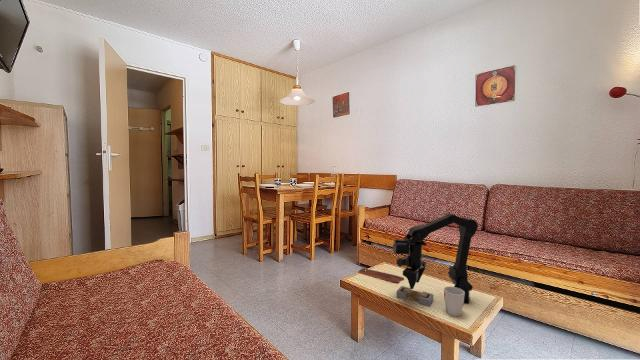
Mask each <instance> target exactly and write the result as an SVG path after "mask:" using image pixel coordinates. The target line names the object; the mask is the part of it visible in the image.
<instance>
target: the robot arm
mask: <svg viewBox="0 0 640 360" xmlns="http://www.w3.org/2000/svg"><path fill="white" fill-rule="evenodd" d="M452 224H454V225H458V232H459V241H458V246H457V250H456V255H455V261H454V264H453V265H449V270H448V272H447V274H448V277H449V279H450V280H451V281H452V283H453V284H454V286H453V287H456V288H459V289H462V290H463V291H464V292H465V295H464V303H465V304H469V303H470V299H471V297H470V292H471V291H472V290H473V288H474V286H473V285H472V284H471V283H470V282H469V278H468V275H469V274H468V271H467V264H468V263H467V262H468V258H469V253H470V247H471V241H472V239H473V237H474V236H475V235H476V232H477V231H478V227H479V223H478V222H477V221H476V220H475V219H472V218H469V217H466V216H464V217H461V216H457V215H455V214H453V213H450V212H449V213H447V214H445V215H444V216H441V217H439V218H436V219H434V220H432V221H430V222H428V223H425V224H420V225H415V226H412V227H410V228H409V229H408V233H407V234H406V235H405V236H404V237H403V239H399V238H395V239H394V242H393V245H392V251H393V254H395V255H396V254H397V255H407V254H408V255H407V256H404V257H399V258H397V259H396V263H395V265H397V266H398V267H399V268H400V267H405V266H406V267H405V269H403V270H402V276H403V277H404V278H406V279H407V280H408V281H407V282H408V285H409V288H410V289H411V290H413V289H414V288H415V286H416V283H419V282H420V280H421V278H422V276H423V274H424V272H425V270H426V268H427V262H426V261H425V260H422V259H423V258H424V255H423V246H425V247H426V246H427V245H428V244H427V243H426V242H425V241H424V240H425V239H426V238H427V237H429V235H430V234H432V233H434V232H436V231H438V230H440V229H442V228H445V227H447V226H449V225H452ZM464 303H463V304H464Z"/></svg>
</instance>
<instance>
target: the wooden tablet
mask: <svg viewBox="0 0 640 360" xmlns="http://www.w3.org/2000/svg"><path fill="white" fill-rule="evenodd" d="M365 270H366V271H365ZM357 273H359V274H360V275H364V276H368V277H372V278H375V279H378V280H379V279H380V280H382V281H385V282H390V283H393V284H397V285H398V284H400V282H403V281H404V280H405V277H404V276H403V277H402V276H399V275H395V274H391V273H388V272H383V271H378V270H374V269H369V270H368V268H364V267H363V268H361V269H359V270H358V271H357Z"/></svg>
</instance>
